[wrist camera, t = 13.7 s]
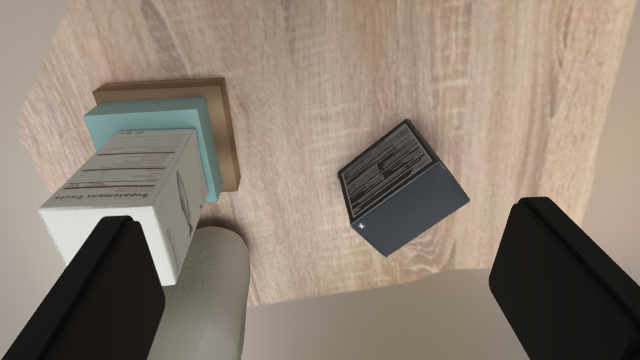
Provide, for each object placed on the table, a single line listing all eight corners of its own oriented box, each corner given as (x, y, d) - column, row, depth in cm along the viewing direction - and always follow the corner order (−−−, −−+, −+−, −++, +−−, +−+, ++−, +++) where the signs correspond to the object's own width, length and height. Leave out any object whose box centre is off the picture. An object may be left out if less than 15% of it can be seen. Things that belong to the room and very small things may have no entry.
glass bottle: (197, 277, 52) (115, 549, 28) (164, 220, 47) (30, 494, 23) (265, 261, 52) (241, 527, 27) (239, 202, 46) (183, 465, 22)
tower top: (100, 102, 36) (83, 115, 33) (205, 96, 36) (196, 109, 33) (131, 189, 41) (119, 208, 38) (222, 183, 42) (217, 201, 39)
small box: (367, 205, 48) (385, 262, 39) (335, 172, 45) (346, 226, 36) (437, 154, 45) (474, 203, 36) (407, 116, 42) (438, 159, 33)
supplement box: (210, 193, 38) (178, 289, 27) (136, 195, 38) (72, 293, 27) (198, 125, 34) (154, 206, 23) (114, 127, 34) (31, 210, 23)
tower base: (108, 81, 39) (92, 91, 36) (225, 76, 39) (219, 86, 36) (140, 181, 45) (129, 197, 42) (241, 175, 45) (237, 191, 42)
